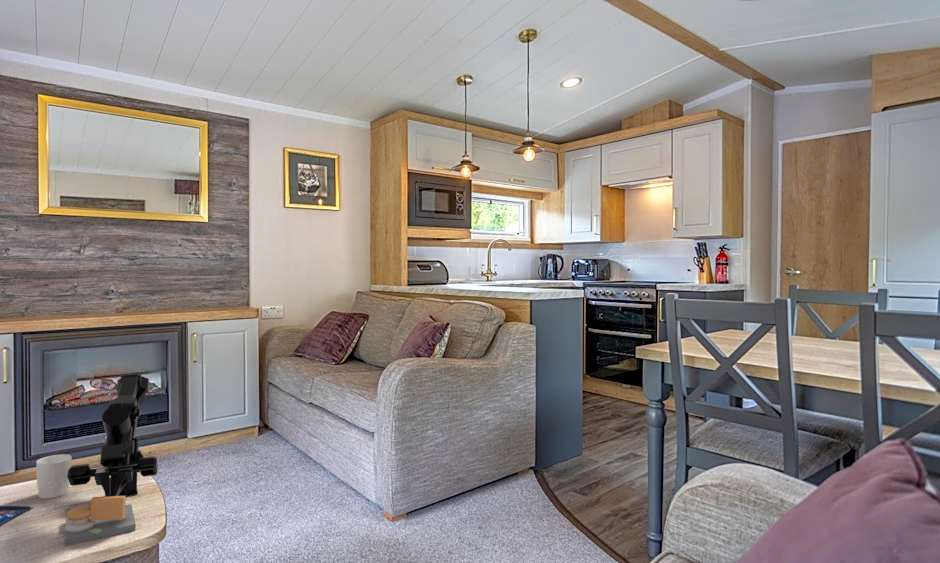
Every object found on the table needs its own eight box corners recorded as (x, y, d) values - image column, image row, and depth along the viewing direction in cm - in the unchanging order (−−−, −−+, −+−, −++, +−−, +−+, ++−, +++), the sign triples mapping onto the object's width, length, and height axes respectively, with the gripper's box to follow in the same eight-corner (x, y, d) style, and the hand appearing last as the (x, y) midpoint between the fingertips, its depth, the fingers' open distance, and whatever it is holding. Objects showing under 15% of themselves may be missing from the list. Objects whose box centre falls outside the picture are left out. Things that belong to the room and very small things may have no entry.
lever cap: (62, 526, 123) (62, 503, 123) (74, 516, 128) (75, 494, 128) (118, 523, 125) (119, 501, 125) (128, 513, 131) (129, 492, 131)
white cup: (31, 501, 143) (32, 465, 143) (39, 491, 150) (40, 456, 150) (67, 497, 146) (68, 461, 146) (73, 486, 153) (74, 452, 153)
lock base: (131, 509, 140) (131, 494, 140) (135, 530, 128) (136, 514, 128) (66, 522, 131) (66, 506, 131) (64, 547, 120) (65, 529, 120)
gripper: (69, 434, 129) (57, 496, 119) (157, 425, 137) (152, 483, 127) (76, 455, 136) (65, 515, 126) (159, 446, 144) (155, 502, 134)
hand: (110, 503), depth 128 cm, fingers closed
